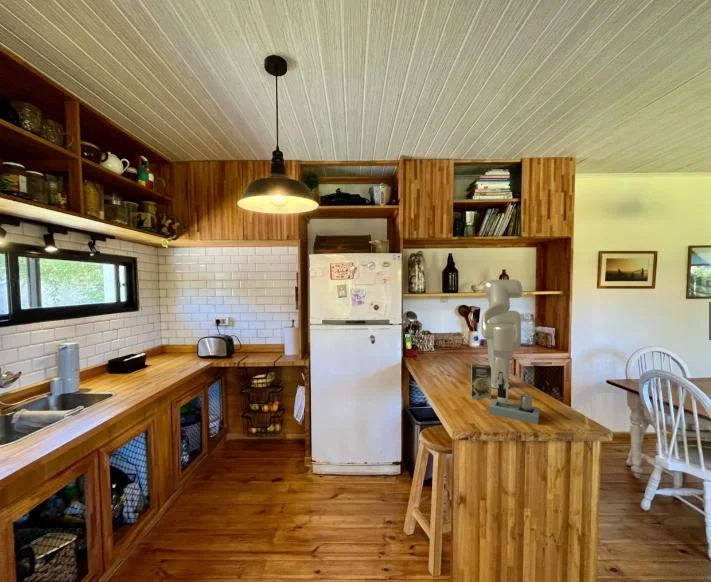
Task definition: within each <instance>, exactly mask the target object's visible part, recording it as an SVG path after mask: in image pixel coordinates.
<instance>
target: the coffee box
mask: <svg viewBox="0 0 711 582" xmlns="http://www.w3.org/2000/svg"><path fill="white" fill-rule="evenodd" d="M470 365H471V367H470V370H471V374H470V381H471V382H470V398H471V399H475V400H482V399H492V388H491V367H490V365H488V364H477V363H471V364H470Z"/></svg>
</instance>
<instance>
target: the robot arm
mask: <svg viewBox="0 0 711 582" xmlns="http://www.w3.org/2000/svg"><path fill="white" fill-rule="evenodd" d="M483 288H484V293H485V296H486V298H487V300H488V308H487V309H486V310H485V311H484V312H483V314H482V316H481V322H480V323H481V326H480V329H481V330H480V331H481V336H482V337H483V338H484V339H486V345H487V365H490V367H491V389H497V398H498V397H500V398H506V389H505V382H507V380H509V379H510V376H511V375H510V374H511V364H510V363H511V361H510V360H512V359H513V357H514V356H513V354H514V353H513V351H514V350H513V348H515V349H517V348H520V347H521V344H522V317H521V314H520V312H519V311H518V310H510V308H511V303H510V302H511V301H510V299H511V298H512V299H513V298H514V299H516V298H517V299H518V298H521V297H522V295H523V285H522V283H521V282H520V280H518V279H489V280H486V281H485V282H484V285H483ZM502 380H504V381H502ZM502 383H504V384H502ZM509 388H510V384H509V383H508V389H509Z"/></svg>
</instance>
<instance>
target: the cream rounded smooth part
mask: <svg viewBox="0 0 711 582" xmlns="http://www.w3.org/2000/svg"><path fill="white" fill-rule="evenodd" d="M508 380H509V379H508ZM508 380H507V382H505V389H506V398H500V397H498V396H497V400H498V401H499V402H503V403H507V402H509V388H508V384H509V381H508ZM502 381H504V380H502ZM502 384H504V383H502Z"/></svg>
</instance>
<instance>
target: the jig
mask: <svg viewBox="0 0 711 582" xmlns="http://www.w3.org/2000/svg"><path fill="white" fill-rule="evenodd" d="M488 414H490V415H494V416H498V417H502V418H506V419H511V420H517V421H520V422H526V423H529V424H534V425H539V421H540V417H541V416H540V415H541V407H537V406H533V405H532V413H529V412H525V411H521V403H516V402H511V401H508V402H507V403H503V402H499V401H498V398H497V399H496V398H494V399H493V400H492V401H491V402H490V404H489V406H488Z"/></svg>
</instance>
